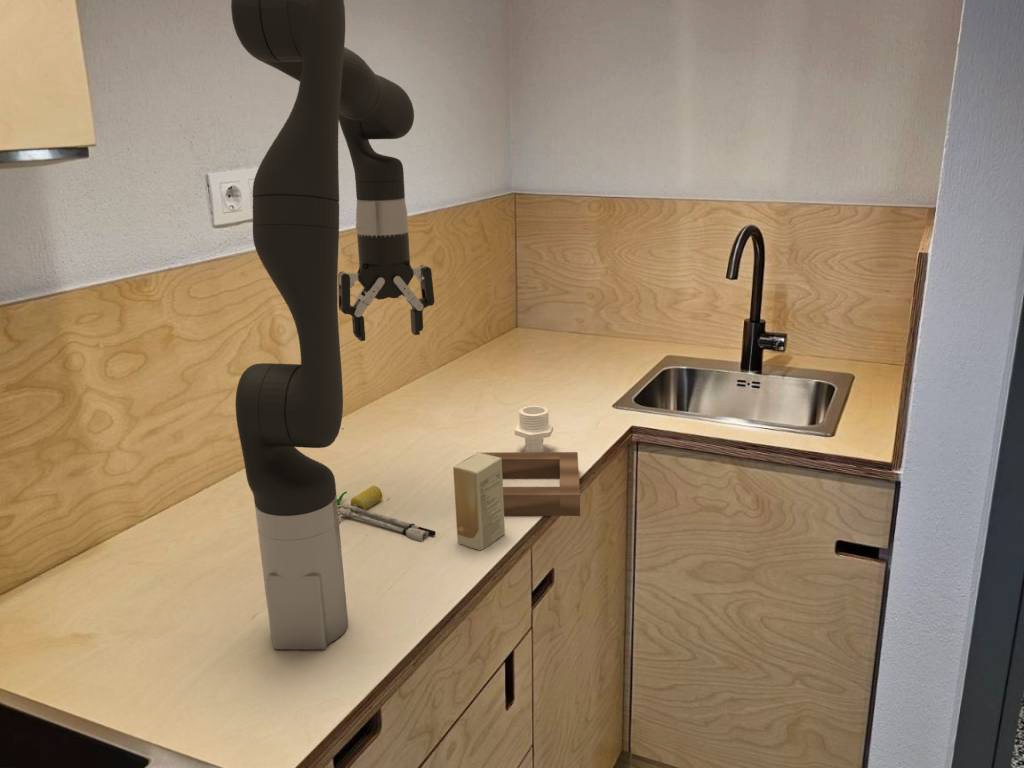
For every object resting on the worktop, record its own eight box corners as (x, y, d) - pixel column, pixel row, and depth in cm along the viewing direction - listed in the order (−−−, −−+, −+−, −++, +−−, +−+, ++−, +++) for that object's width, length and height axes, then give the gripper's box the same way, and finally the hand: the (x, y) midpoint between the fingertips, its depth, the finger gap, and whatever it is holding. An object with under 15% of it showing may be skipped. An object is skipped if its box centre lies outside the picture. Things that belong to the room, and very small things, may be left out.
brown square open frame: (580, 515, 136) (580, 494, 135) (468, 516, 137) (467, 495, 136) (577, 471, 152) (577, 452, 151) (477, 471, 153) (477, 452, 152)
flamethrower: (315, 482, 150) (271, 507, 142) (313, 467, 149) (269, 492, 141) (458, 523, 136) (418, 554, 128) (457, 508, 135) (416, 538, 127)
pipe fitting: (559, 456, 159) (559, 413, 156) (521, 461, 157) (520, 418, 154) (547, 443, 164) (546, 402, 162) (510, 449, 162) (509, 407, 160)
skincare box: (482, 527, 133) (479, 450, 130) (506, 534, 131) (503, 456, 127) (455, 544, 128) (451, 465, 125) (479, 552, 126) (476, 472, 122)
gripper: (340, 236, 126) (348, 347, 131) (436, 229, 131) (441, 337, 136) (329, 230, 133) (337, 337, 137) (421, 224, 138) (426, 327, 143)
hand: (389, 337), depth 137 cm, fingers open, 8 cm apart
